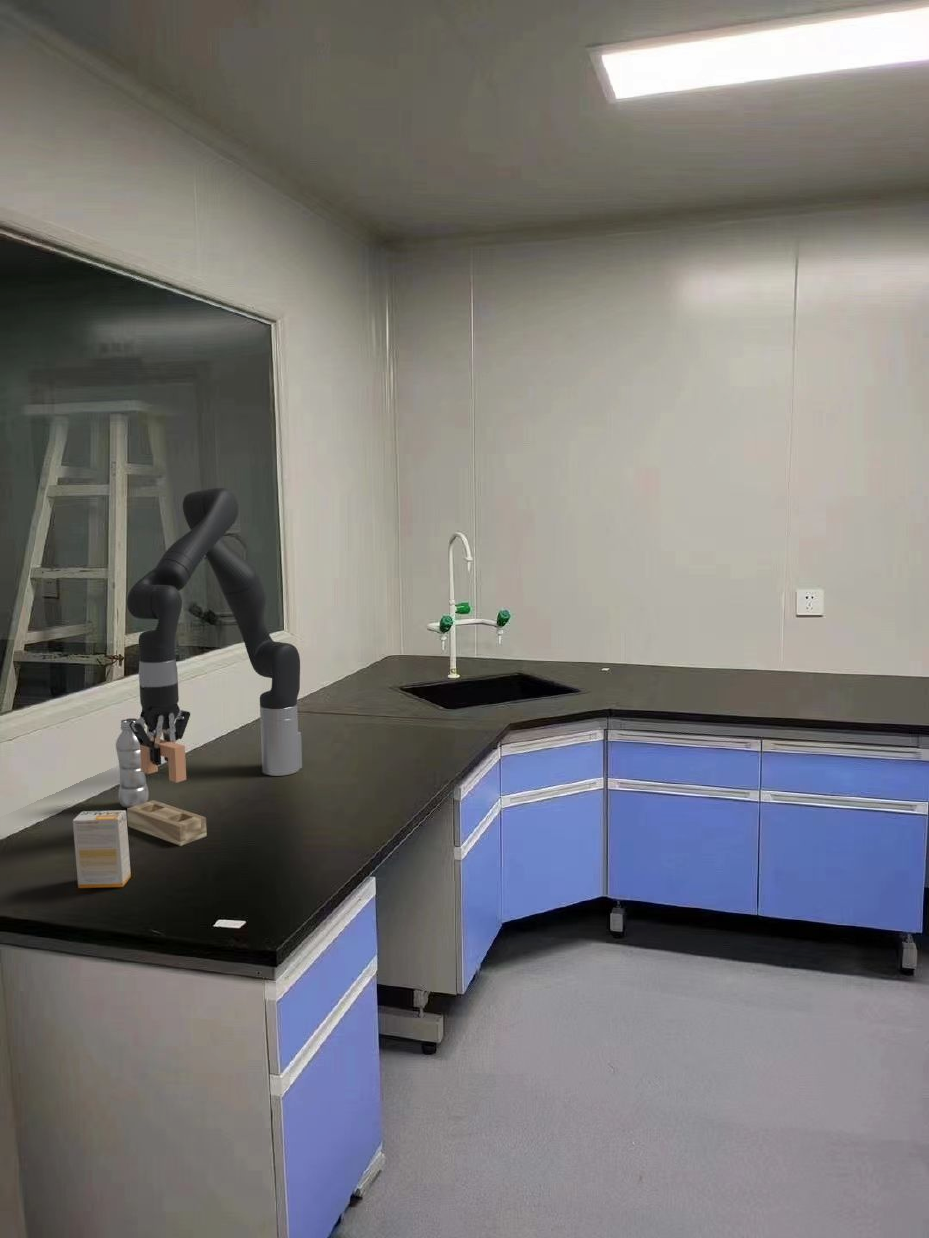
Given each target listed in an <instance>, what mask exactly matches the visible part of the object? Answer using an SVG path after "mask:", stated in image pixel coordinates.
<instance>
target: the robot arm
mask: <svg viewBox="0 0 929 1238" xmlns="http://www.w3.org/2000/svg"><path fill="white" fill-rule="evenodd" d="M182 511H183V512H182V513H183V516H184V518H185V521H186V523H187V525H188V527H189V529H190V531H188V532H187V533H185V534H184V535H183V536H181V537H180V538H179V539H177V540H176V541H175V542H174V543H173V544H172V545H170V547H168V549H167V550H166V551H165V553H164V554H163V556H162V557H161V559H160V560H159V562H158V563H157V565H156V567H154V568H153V569H152V570H150V571H148V573H146V574H145V575H144V576H143V577H141V578H140V579H138V581H137V582H136V583H134V585H133V586H132V587H131V588H130V590H129V592H128V595H127V598H126V606H127V607H126V608H127V610H128V611H129V614H131V616H132V617H134V618H137V619H140V620H158V621H157V625H156V626H155V627H156V628H154V629H151V630H150V629H149V630H146V631H143V632H141V633H140V634H139V637H138V659H139V660H138V661H139V667H138V679H139V680H138V682H139V685H138V686H139V700H140V702H139V703H140V706H141V712H140V715H139V716H140V717H139V718H137V721H135V722H130V724H129V726H130V728H131V730H132V731H133V733H134V735H135V736H136V738H137V740H138V742H139V743H140V745H142V746H146V747H149V749H150V761H151V762H152V763H153V764H154V765H157V766H158V767H159V766H160V765H162V756H161V752H160V748H159V746H160V739H161V737H162V738H163V740H165V741H169V742H173V743H176V742H178V740H181V739H183V737H184V734H185V732H186V728H187V726H188V723H189V720H190V717H191V712H190V711H188V710H182V709H180V706H179V704H178V703H179V700H180V696H179V679H178V678H179V677H178V676H179V675H178V666H177V662H176V661H177V660H176V644H175V643H176V642H175V640H176V635H177V634H176V633H177V628H178V626H179V621H180V616H181V612H182V608H183V600H182V595H181V592H180V591H181V590H183V589H184V588H185V587H186V585H187V583H188V582H189V580H190V579H191V577H192V575H193V574H194V572H195V570H196V569H197V567H198V566H199V564H200V563H201V562H202V560H203V559H204V557H206V559H207V561H208V563H209V565H210V567H211V570H212V571H213V573H214V575H215V576H214V577H215V578H216V580H217V582H218V585H219V587H220V590H221V592H222V594H223V597H224V599H225V601H226V603H227V605H228V608H229V609H230V611H231V613H232V615H233V617H234V620H235V623H236V625H237V627H238V630H239V631H240V634H241V637H242V639H243V643H244V647H245V649H246V653H247V655H248V659H249V662H250V664H251V667H252V668H253V670H254V671H255V673H256V674H258V675H259V676H261V677H264V678H268V679H271V688H270V690H267V691H265V692H262V693H261V694H260V696H259V717H260V739H261V740H260V741H261V743H260V744H261V745H260V746H261V767H262V769H261V770H262V772H261V773H263V774H264V775H268V776H275V777H277V776H278V777H279V776H288V775H293V774H295V773H298V771H299V770H300V769H302V768H303V757H302V755H303V753H302V752H303V750H302V732H301V731H299V724H298V723H299V722H298V721H299V720H298V716H299V715H298V696H299V694H300V690H301V689H300V688H301V684H300V683H301V659H300V653H299V651H298V648H297V647H296V646H295V645H293V644H291V643H288V642H282V641H281V642H280V641H274V639H273V638H272V637H271V635H270V634H269V631H268V629H267V626H266V623H265V619H264V618H265V611H266V601H267V596H266V592H265V589H264V586H263V584H262V582H261V579H260V576H259V574H258V572H257V571H256V569H255V568H254V566H253V565H252V564H251V563H250V562H249V561H247V559H246V558H244V557H243V556H241V555H240V554H239V553H238V552H237V551H235V549H233V548H232V547H231V546H230V545H229V544H228V543H227V542H226V541H225V539H224V538H223V537H224V535H225V533H227V532H228V531H229V530H230V529H231V528H232V527H233V525H234V524H235V523H236V521H237V519H238V516H239V502H238V499H237V498H236V495H235V494H234V493H233V492H232V491H231V490H230V489H228V488H223V487H218V488H209V489H205V490H198V491H193V492H189V493H187V494H186V495H185V496H184V497H183V501H182ZM145 725H146V726H145ZM145 729H146V730H145ZM163 758H164V761H165V762H168V758H167V757H164V756H163Z"/></svg>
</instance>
